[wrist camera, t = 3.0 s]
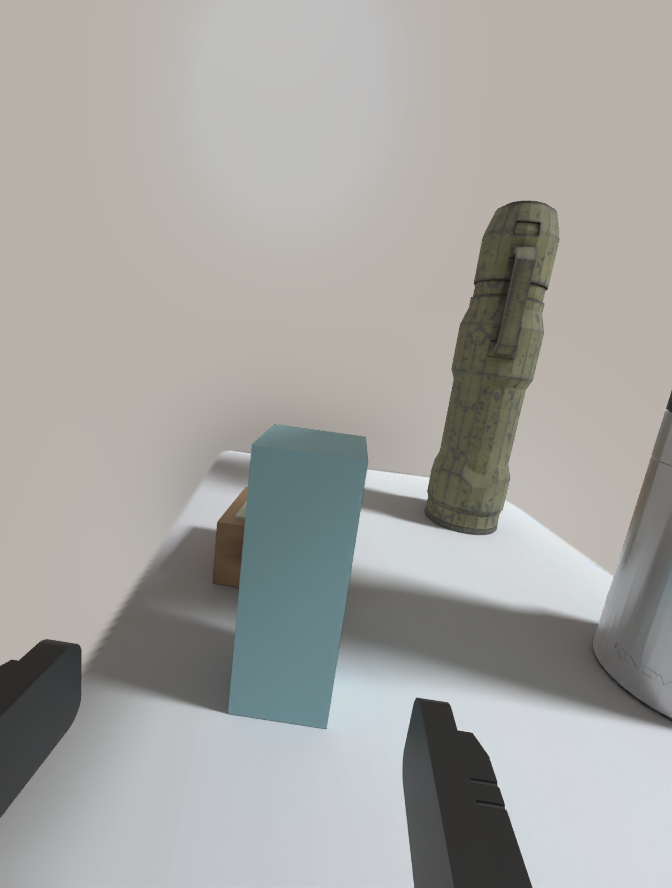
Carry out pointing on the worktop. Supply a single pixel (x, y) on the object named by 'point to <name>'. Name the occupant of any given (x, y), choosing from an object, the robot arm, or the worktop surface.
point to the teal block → (295, 572)
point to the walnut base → (230, 543)
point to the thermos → (493, 368)
